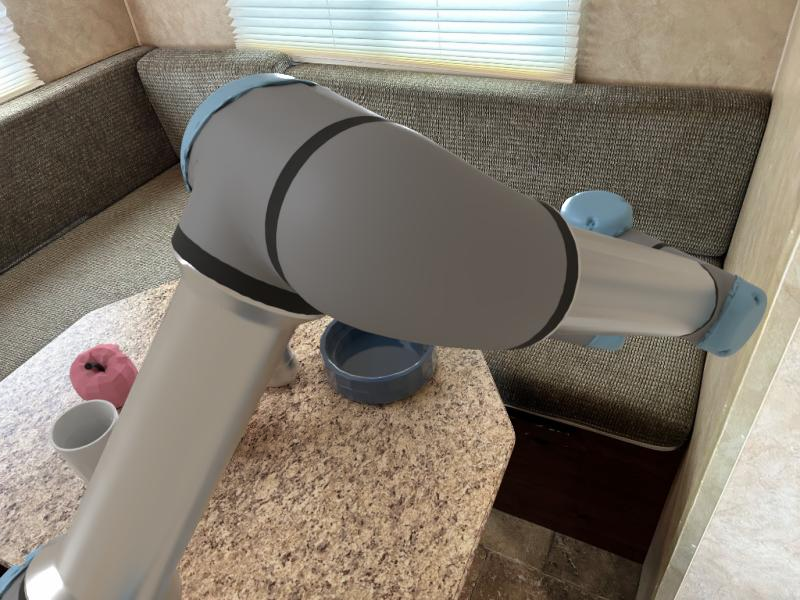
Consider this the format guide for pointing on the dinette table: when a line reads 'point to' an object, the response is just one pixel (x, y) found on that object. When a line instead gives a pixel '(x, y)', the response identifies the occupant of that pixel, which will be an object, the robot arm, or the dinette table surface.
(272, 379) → the silver water bottle
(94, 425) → the cup
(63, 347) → the dinette table surface
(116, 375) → the apple
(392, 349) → the bowl
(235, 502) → the dinette table surface
